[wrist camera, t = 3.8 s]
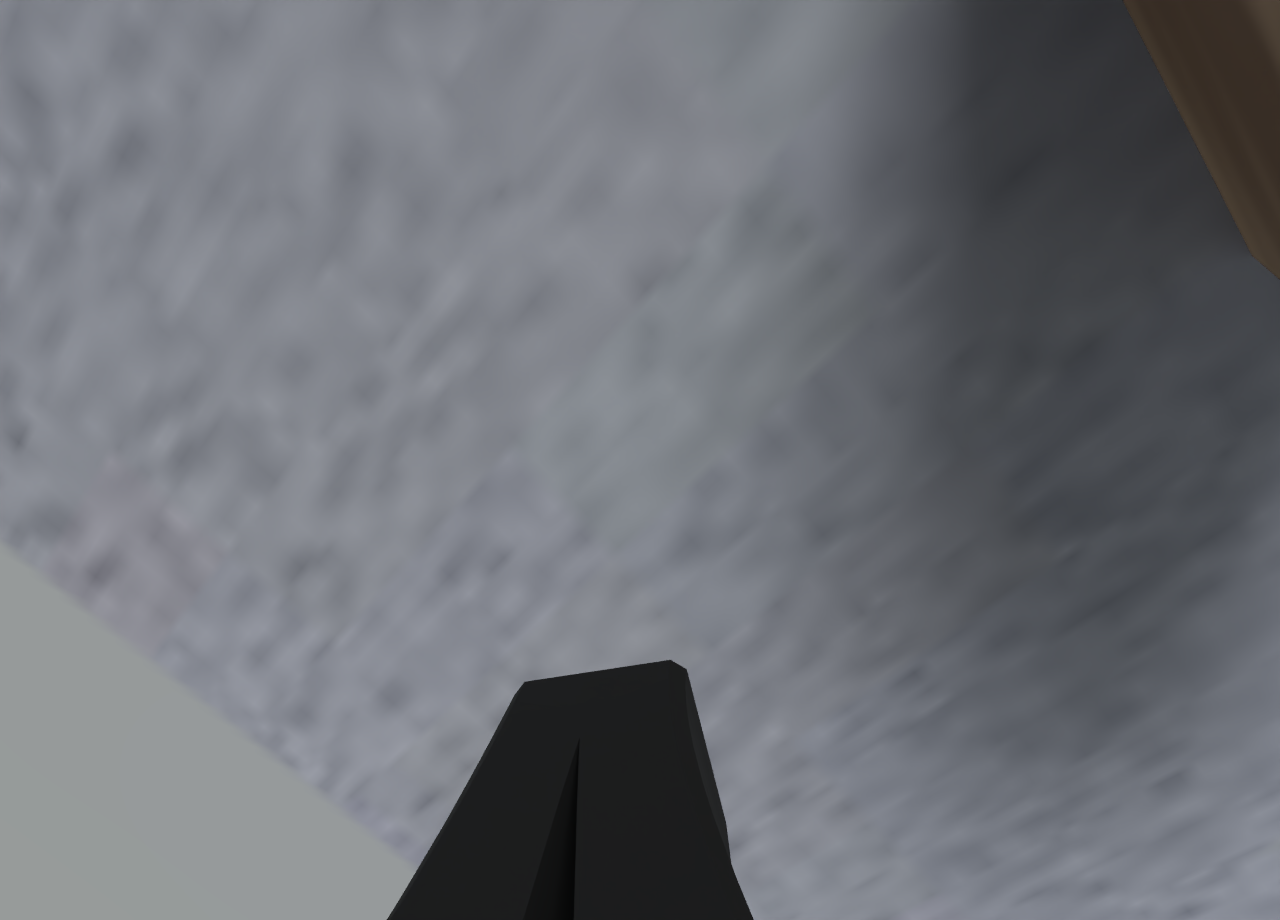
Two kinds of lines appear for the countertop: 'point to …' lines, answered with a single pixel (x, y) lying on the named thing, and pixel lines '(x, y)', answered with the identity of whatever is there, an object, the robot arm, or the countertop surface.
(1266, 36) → the wooden block
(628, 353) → the countertop surface
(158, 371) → the countertop surface
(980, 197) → the countertop surface
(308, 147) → the countertop surface
